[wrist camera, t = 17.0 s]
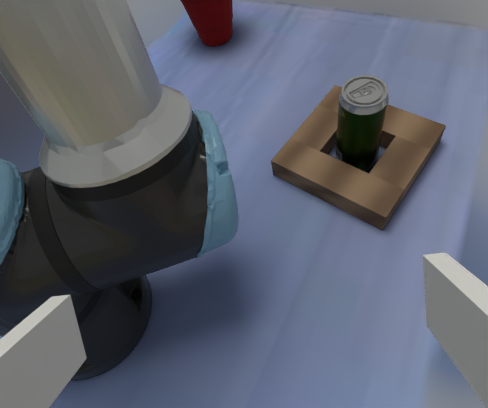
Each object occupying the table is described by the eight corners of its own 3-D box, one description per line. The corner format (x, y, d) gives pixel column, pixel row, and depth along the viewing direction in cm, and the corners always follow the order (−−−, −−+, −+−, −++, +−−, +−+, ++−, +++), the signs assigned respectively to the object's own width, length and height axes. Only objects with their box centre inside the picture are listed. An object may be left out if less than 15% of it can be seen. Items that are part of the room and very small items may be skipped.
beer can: (347, 180, 52) (354, 114, 42) (328, 152, 55) (330, 84, 45) (384, 165, 52) (400, 96, 42) (363, 138, 55) (373, 67, 45)
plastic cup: (175, 41, 74) (153, -24, 64) (219, 12, 77) (205, -54, 67) (211, 65, 69) (194, -2, 59) (257, 33, 72) (247, -36, 62)
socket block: (273, 174, 54) (271, 160, 52) (334, 100, 60) (335, 85, 57) (382, 230, 48) (386, 217, 45) (439, 141, 53) (445, 125, 51)
